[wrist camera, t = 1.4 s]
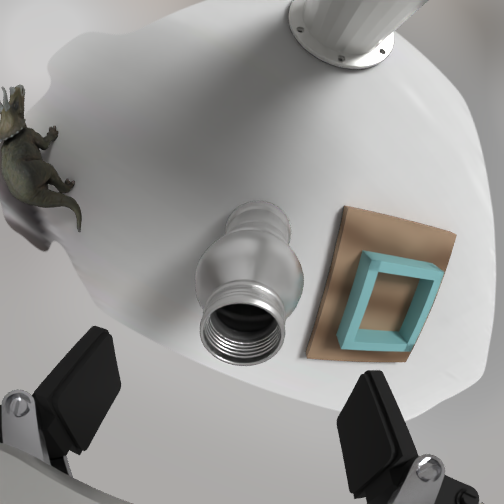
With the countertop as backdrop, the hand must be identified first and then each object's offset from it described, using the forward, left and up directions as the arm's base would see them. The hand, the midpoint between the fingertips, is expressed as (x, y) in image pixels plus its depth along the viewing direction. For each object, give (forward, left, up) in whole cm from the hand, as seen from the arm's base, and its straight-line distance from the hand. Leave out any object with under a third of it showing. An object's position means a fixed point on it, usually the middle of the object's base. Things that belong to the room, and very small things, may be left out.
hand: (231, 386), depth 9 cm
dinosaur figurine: (-6, -29, -23) cm, 37 cm away
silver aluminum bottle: (0, 0, -23) cm, 23 cm away
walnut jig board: (+6, +17, -23) cm, 29 cm away
